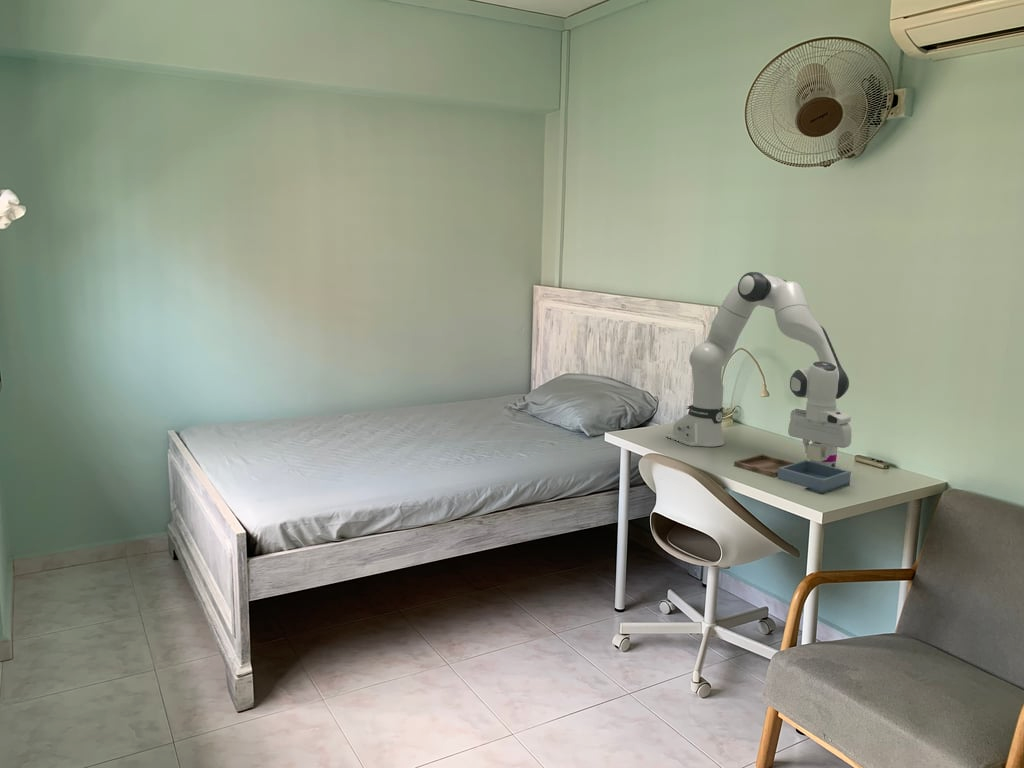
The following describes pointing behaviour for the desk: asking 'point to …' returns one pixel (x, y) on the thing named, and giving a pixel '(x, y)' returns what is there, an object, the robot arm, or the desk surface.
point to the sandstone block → (816, 452)
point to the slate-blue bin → (815, 476)
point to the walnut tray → (762, 464)
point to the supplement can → (832, 457)
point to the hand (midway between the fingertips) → (816, 455)
